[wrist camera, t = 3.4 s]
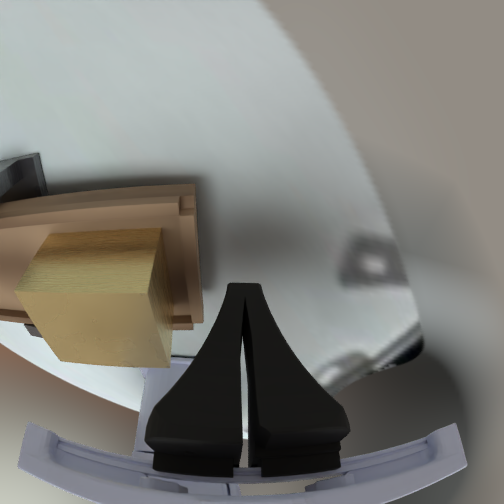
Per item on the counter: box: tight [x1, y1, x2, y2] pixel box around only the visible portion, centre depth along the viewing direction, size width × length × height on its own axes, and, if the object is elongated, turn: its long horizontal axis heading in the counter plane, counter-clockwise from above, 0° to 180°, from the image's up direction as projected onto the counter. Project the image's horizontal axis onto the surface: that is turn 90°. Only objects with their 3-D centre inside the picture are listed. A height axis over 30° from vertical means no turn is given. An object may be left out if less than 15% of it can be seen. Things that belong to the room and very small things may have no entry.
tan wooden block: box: [14, 228, 174, 368], centre depth 12 cm, size 5×6×4 cm
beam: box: [0, 184, 204, 330], centre depth 13 cm, size 8×24×2 cm, turn 87°
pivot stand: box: [0, 153, 48, 338], centre depth 14 cm, size 12×5×4 cm, turn 177°
